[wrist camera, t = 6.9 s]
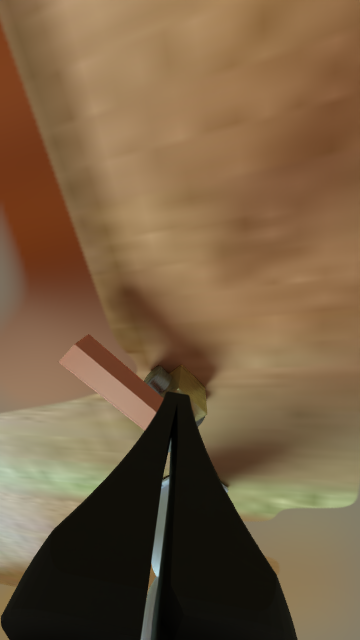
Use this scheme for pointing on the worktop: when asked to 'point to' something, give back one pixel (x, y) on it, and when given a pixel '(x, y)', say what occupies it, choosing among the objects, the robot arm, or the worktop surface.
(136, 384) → the lever
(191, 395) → the valve
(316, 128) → the worktop surface
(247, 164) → the worktop surface
